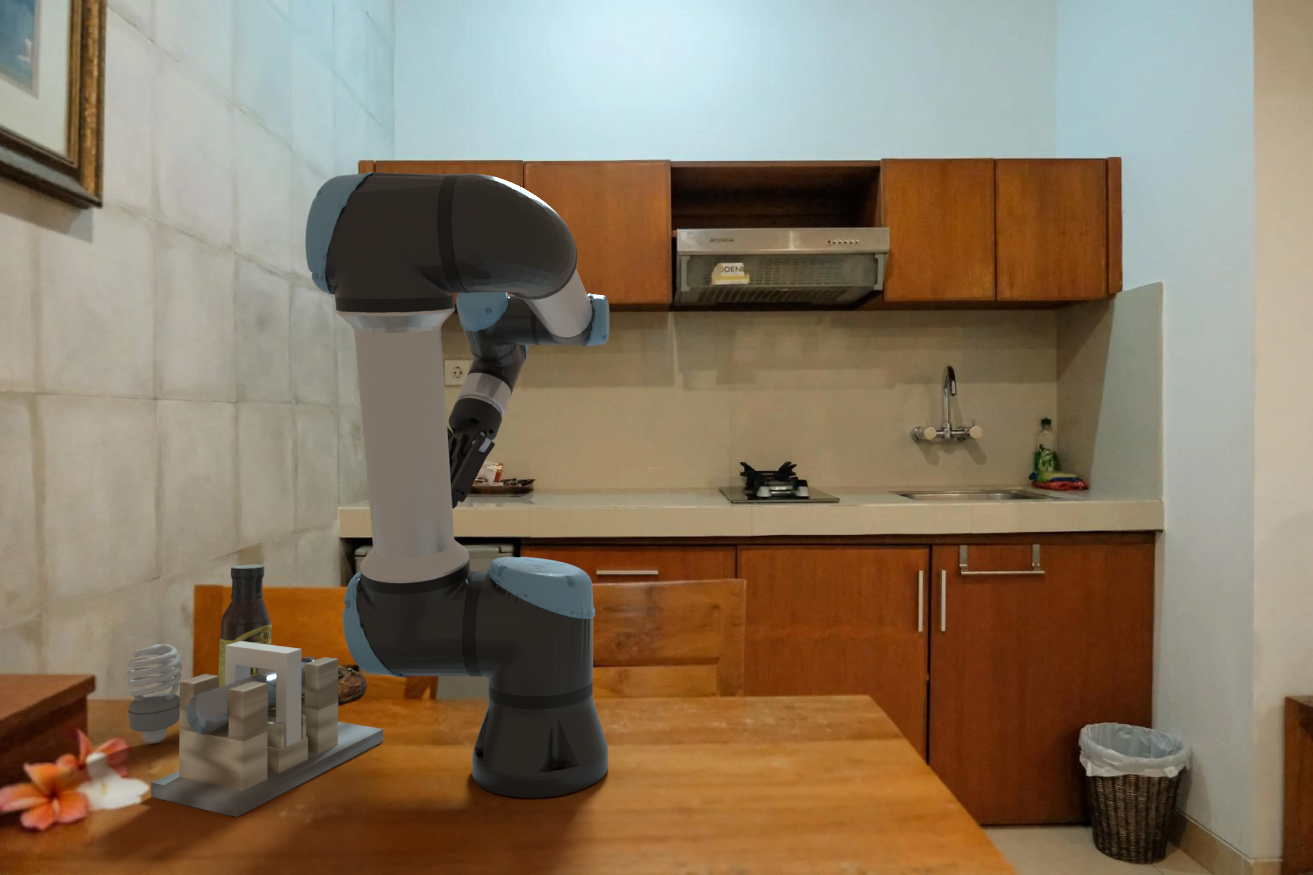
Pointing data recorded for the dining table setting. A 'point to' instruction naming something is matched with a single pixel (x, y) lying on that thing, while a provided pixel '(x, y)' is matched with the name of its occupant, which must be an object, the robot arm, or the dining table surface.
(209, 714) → the shaft
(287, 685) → the grey arch-shaped block
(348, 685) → the bread roll
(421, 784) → the dining table surface
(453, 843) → the dining table surface
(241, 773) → the grey block assembly base
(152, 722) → the light bulb
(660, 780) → the dining table surface
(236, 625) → the sauce bottle
